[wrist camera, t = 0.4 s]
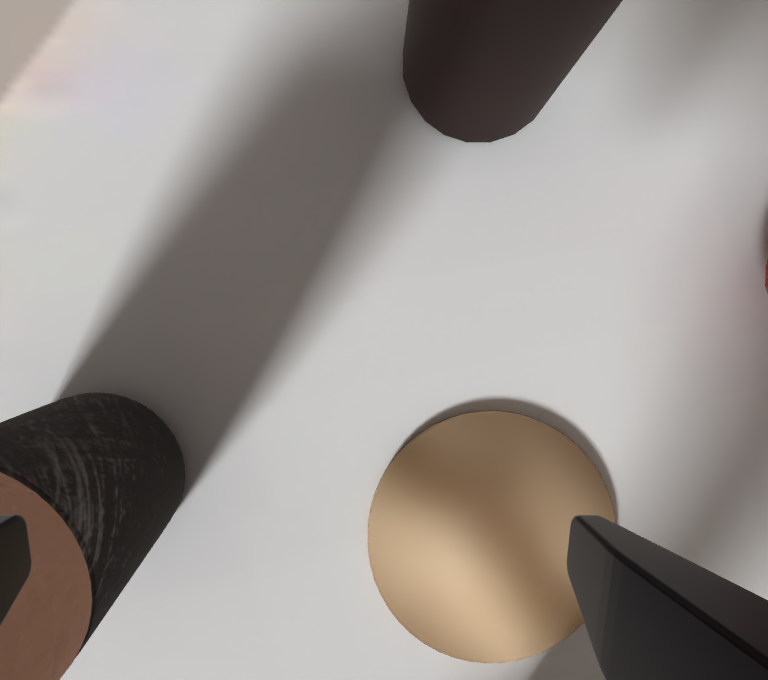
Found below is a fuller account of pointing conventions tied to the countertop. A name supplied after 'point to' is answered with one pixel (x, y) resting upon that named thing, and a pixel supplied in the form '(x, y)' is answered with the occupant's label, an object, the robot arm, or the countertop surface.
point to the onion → (767, 280)
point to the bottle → (493, 59)
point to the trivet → (483, 535)
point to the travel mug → (81, 518)
